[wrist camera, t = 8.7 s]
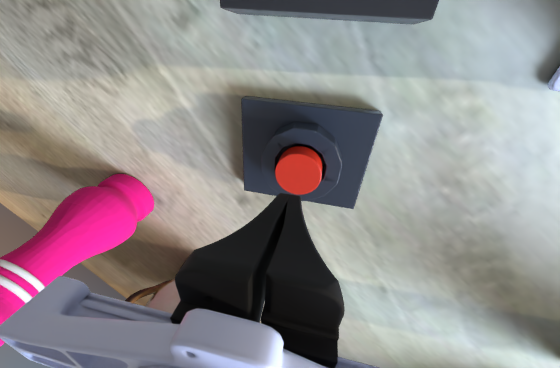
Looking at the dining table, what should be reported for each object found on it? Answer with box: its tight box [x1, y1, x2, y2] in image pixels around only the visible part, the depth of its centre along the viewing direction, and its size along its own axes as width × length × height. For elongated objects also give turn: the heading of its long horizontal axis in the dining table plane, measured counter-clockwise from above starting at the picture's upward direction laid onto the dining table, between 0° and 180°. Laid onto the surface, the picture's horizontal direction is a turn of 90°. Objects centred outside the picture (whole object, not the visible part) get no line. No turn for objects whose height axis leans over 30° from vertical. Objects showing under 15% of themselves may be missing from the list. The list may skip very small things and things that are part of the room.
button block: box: [241, 96, 383, 209], centre depth 19 cm, size 11×9×3 cm
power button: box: [275, 146, 322, 194], centre depth 17 cm, size 4×4×2 cm
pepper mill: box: [0, 174, 154, 346], centre depth 20 cm, size 7×7×20 cm
